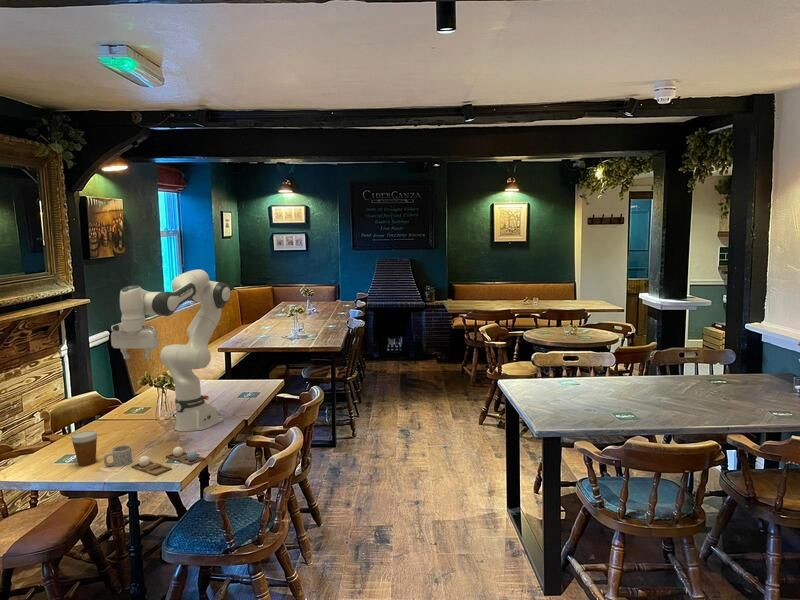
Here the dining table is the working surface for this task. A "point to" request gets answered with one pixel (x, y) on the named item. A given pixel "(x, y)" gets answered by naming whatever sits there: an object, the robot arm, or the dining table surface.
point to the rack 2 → (185, 459)
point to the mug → (119, 456)
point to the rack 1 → (152, 468)
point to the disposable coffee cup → (85, 447)
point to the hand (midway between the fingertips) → (136, 359)
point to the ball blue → (192, 456)
